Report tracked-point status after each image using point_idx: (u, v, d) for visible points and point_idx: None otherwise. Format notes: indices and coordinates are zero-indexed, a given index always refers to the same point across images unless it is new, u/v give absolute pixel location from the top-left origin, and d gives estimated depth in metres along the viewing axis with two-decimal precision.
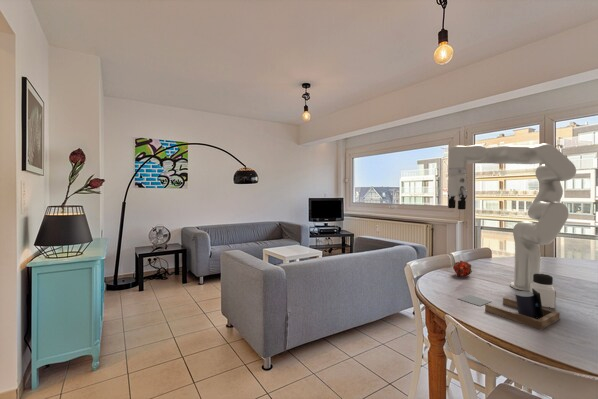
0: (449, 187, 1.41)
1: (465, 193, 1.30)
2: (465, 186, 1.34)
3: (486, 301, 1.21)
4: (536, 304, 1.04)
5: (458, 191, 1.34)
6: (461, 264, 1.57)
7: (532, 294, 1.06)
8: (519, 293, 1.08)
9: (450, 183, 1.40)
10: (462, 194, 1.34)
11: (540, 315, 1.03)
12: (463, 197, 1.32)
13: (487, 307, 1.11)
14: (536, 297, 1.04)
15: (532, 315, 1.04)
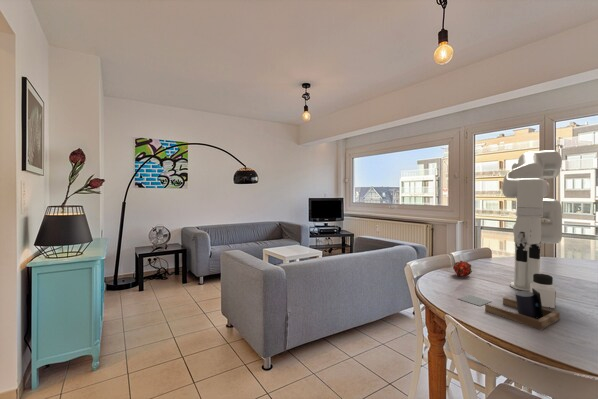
0: (533, 233, 1.03)
1: None
2: None
3: (486, 301, 1.21)
4: (536, 304, 1.04)
5: None
6: (461, 264, 1.57)
7: (532, 294, 1.06)
8: (519, 293, 1.08)
9: (535, 227, 1.03)
10: None
11: (540, 315, 1.03)
12: None
13: (487, 307, 1.11)
14: (536, 297, 1.04)
15: (532, 315, 1.04)
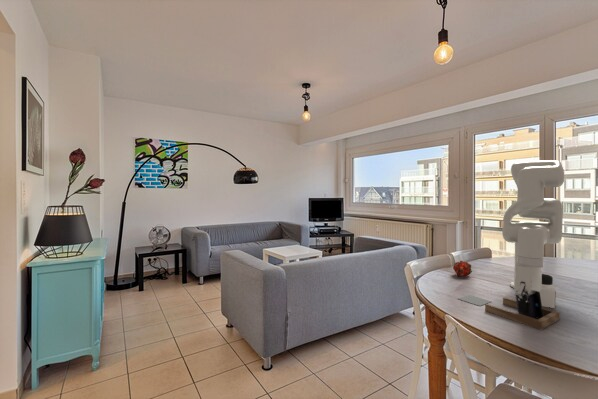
0: (533, 283, 1.03)
1: None
2: None
3: (486, 301, 1.21)
4: (536, 304, 1.04)
5: None
6: (461, 264, 1.57)
7: (532, 294, 1.05)
8: None
9: (536, 277, 1.03)
10: None
11: (540, 315, 1.03)
12: None
13: (487, 307, 1.11)
14: (536, 297, 1.04)
15: (532, 315, 1.04)
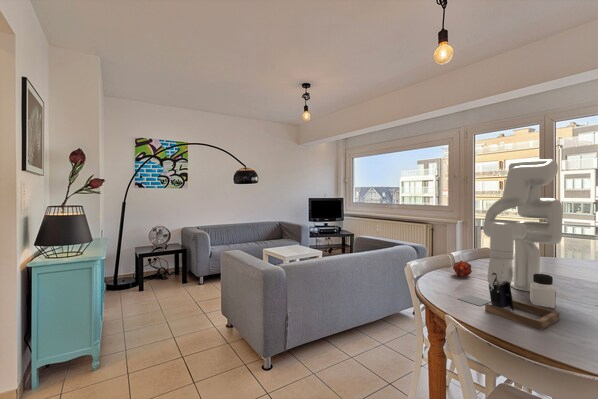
0: (504, 274, 1.11)
1: None
2: None
3: (486, 301, 1.21)
4: (507, 294, 1.12)
5: None
6: (461, 264, 1.57)
7: (503, 285, 1.13)
8: None
9: (506, 269, 1.11)
10: None
11: (510, 304, 1.11)
12: None
13: (487, 307, 1.11)
14: (507, 287, 1.12)
15: (503, 304, 1.12)
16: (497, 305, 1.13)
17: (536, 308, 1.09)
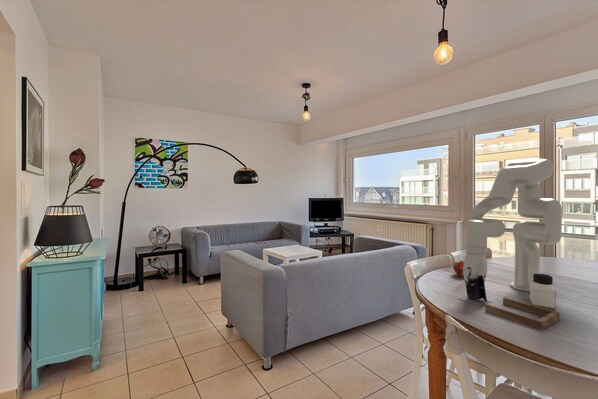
0: (478, 268, 1.19)
1: None
2: None
3: None
4: (481, 287, 1.20)
5: None
6: (461, 264, 1.57)
7: (478, 278, 1.22)
8: None
9: (480, 263, 1.19)
10: None
11: (484, 296, 1.19)
12: None
13: (487, 307, 1.11)
14: (481, 281, 1.20)
15: (478, 296, 1.20)
16: (472, 297, 1.21)
17: (536, 308, 1.09)
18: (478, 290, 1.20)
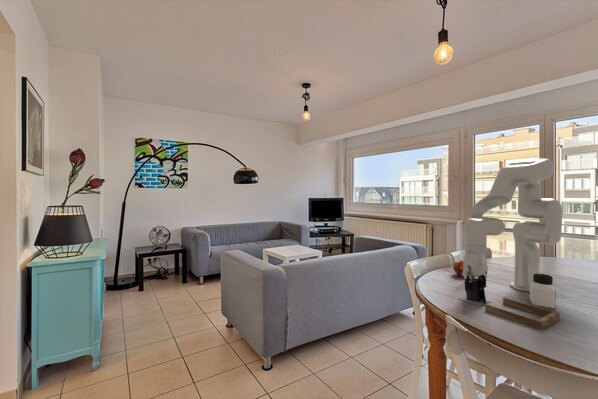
0: (478, 267, 1.19)
1: None
2: None
3: (486, 301, 1.21)
4: (480, 288, 1.21)
5: None
6: (461, 264, 1.57)
7: (477, 280, 1.22)
8: None
9: (480, 262, 1.19)
10: None
11: (483, 297, 1.19)
12: None
13: (487, 307, 1.11)
14: (480, 282, 1.21)
15: (477, 297, 1.20)
16: (471, 299, 1.21)
17: (536, 308, 1.09)
18: (477, 291, 1.20)
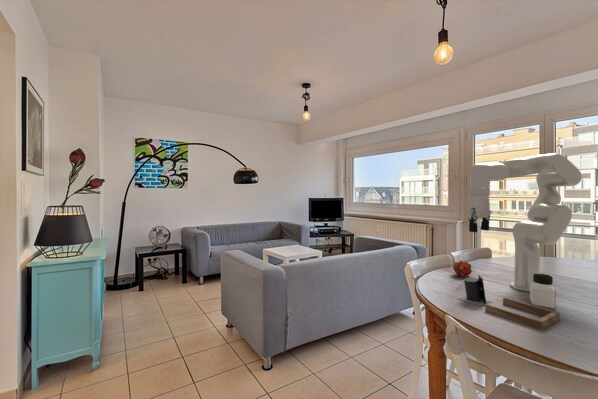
0: (481, 208, 1.26)
1: None
2: None
3: (486, 301, 1.21)
4: (480, 288, 1.21)
5: None
6: (461, 264, 1.57)
7: (477, 280, 1.22)
8: (467, 279, 1.24)
9: (483, 204, 1.27)
10: None
11: (483, 297, 1.19)
12: None
13: (487, 307, 1.11)
14: (480, 282, 1.21)
15: (477, 297, 1.20)
16: (471, 299, 1.21)
17: (536, 308, 1.09)
18: (477, 291, 1.20)
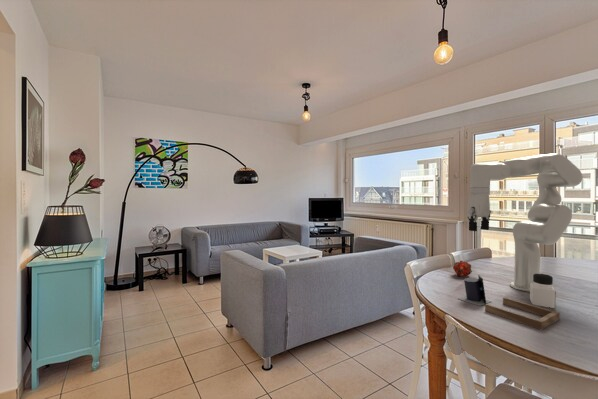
0: (481, 207, 1.27)
1: None
2: None
3: (486, 301, 1.21)
4: (480, 288, 1.21)
5: None
6: (461, 264, 1.57)
7: (477, 280, 1.22)
8: (467, 279, 1.24)
9: (483, 203, 1.27)
10: None
11: (483, 297, 1.19)
12: None
13: (487, 307, 1.11)
14: (480, 282, 1.21)
15: (477, 297, 1.20)
16: (471, 299, 1.21)
17: (536, 308, 1.09)
18: (477, 291, 1.20)
